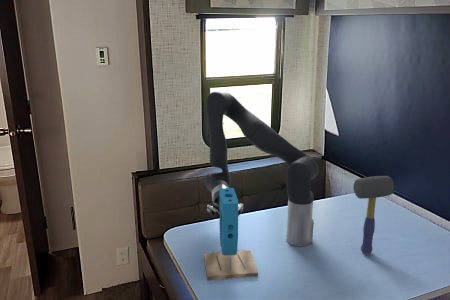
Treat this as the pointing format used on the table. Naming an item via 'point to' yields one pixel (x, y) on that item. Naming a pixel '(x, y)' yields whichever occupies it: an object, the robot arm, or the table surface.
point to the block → (228, 221)
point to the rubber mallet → (371, 203)
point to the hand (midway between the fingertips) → (228, 220)
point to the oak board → (230, 265)
